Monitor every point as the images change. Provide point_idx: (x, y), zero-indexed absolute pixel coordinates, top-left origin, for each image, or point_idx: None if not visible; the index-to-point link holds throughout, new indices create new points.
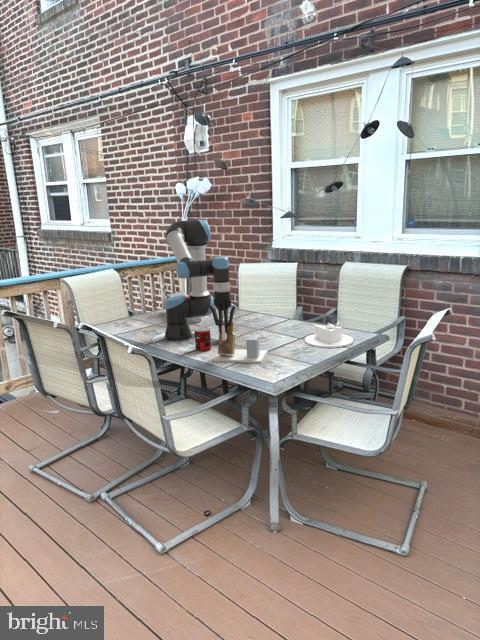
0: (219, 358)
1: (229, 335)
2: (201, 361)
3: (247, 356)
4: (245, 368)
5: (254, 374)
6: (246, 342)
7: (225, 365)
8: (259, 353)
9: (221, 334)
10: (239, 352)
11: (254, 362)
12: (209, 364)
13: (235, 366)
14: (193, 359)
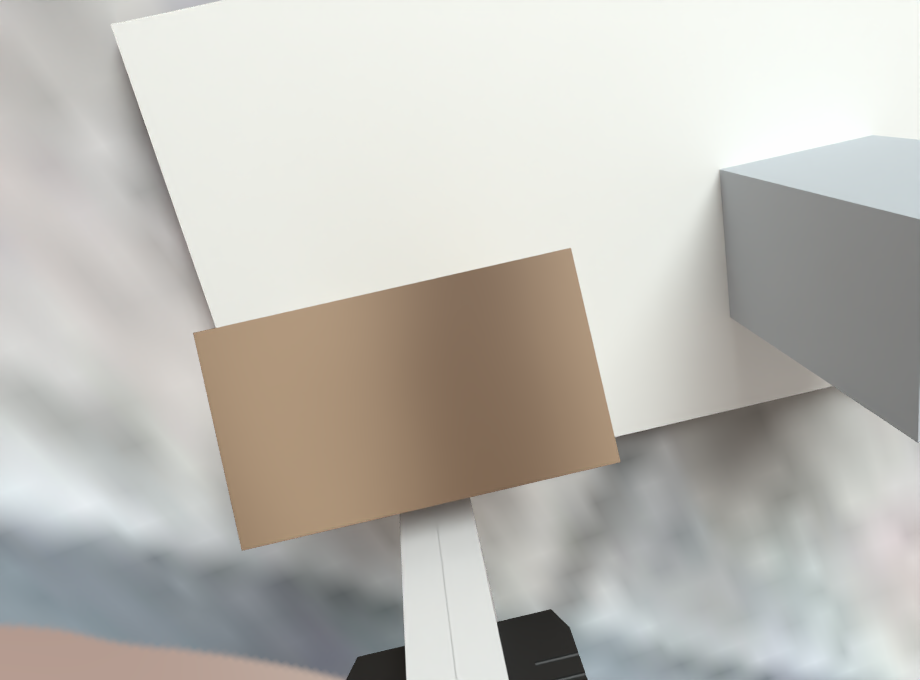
0: None
1: (523, 475)
2: (168, 555)
3: (748, 321)
4: (785, 554)
5: (916, 648)
6: (881, 414)
7: (532, 559)
8: (890, 140)
9: (313, 532)
10: (526, 117)
11: None
12: (332, 599)
13: (657, 544)
14: (9, 535)
